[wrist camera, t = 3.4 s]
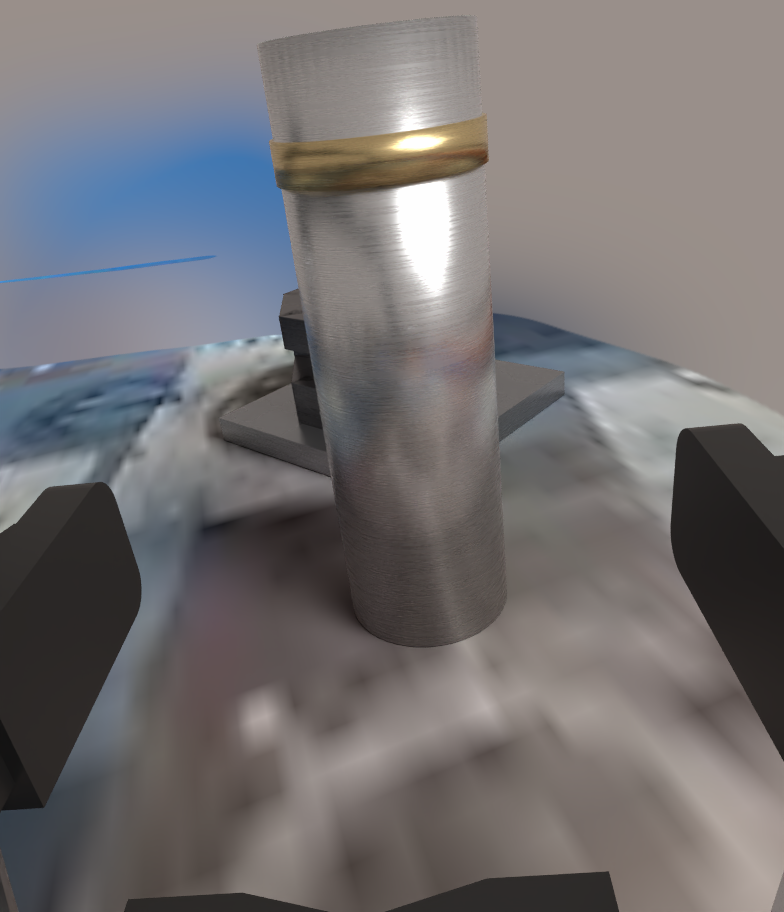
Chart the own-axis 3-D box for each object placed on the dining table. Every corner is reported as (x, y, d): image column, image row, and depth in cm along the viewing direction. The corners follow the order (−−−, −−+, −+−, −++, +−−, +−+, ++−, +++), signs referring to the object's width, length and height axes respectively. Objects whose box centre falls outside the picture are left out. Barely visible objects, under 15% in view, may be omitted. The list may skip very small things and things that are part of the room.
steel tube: (317, 609, 24) (205, 51, 17) (417, 532, 27) (360, 38, 20) (444, 674, 21) (375, 20, 14) (540, 578, 24) (526, 11, 17)
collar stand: (224, 439, 37) (194, 316, 34) (383, 359, 44) (370, 252, 41) (412, 504, 29) (394, 352, 26) (564, 394, 37) (563, 267, 34)
